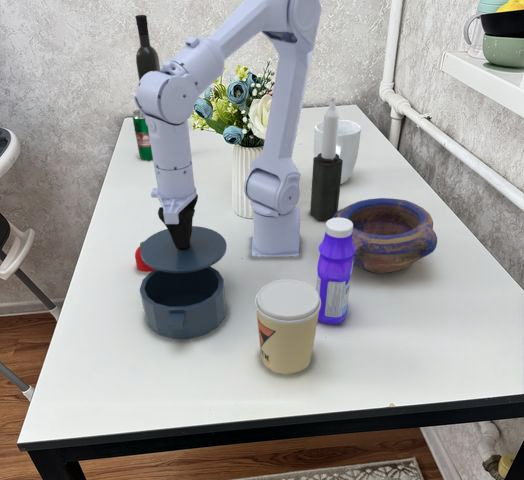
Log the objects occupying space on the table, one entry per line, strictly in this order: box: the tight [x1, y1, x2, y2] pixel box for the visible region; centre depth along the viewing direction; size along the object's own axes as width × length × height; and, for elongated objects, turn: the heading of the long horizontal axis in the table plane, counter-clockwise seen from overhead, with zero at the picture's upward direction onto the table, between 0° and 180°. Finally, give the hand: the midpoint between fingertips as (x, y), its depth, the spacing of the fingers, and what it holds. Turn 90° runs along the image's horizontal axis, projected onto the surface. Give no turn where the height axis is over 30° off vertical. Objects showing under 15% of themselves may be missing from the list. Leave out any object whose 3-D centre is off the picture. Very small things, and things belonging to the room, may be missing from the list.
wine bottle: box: [135, 14, 161, 82], centre depth 143 cm, size 6×6×30 cm
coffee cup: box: [254, 278, 321, 375], centre depth 73 cm, size 9×9×12 cm
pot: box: [139, 266, 227, 340], centre depth 83 cm, size 14×19×6 cm
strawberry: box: [134, 240, 156, 273], centre depth 94 cm, size 5×5×5 cm
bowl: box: [332, 197, 438, 274], centre depth 94 cm, size 18×18×10 cm
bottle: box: [315, 217, 355, 325], centre depth 79 cm, size 7×6×17 cm
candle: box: [309, 95, 343, 223], centre depth 103 cm, size 5×5×25 cm
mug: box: [313, 118, 362, 185], centre depth 119 cm, size 15×11×13 cm
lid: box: [140, 225, 228, 273], centre depth 82 cm, size 15×15×6 cm
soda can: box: [132, 109, 153, 161], centre depth 133 cm, size 5×5×12 cm
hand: (183, 242), depth 83 cm, fingers closed on lid, 2 cm apart
